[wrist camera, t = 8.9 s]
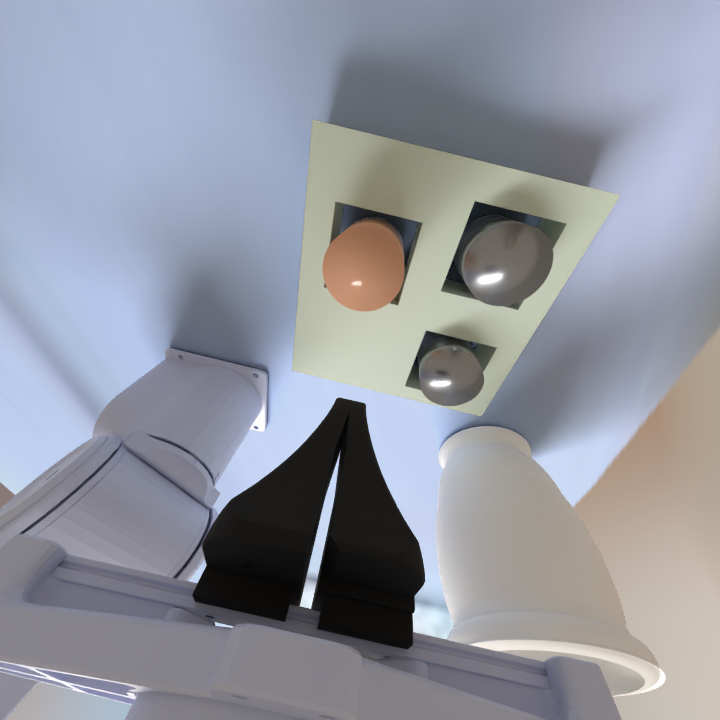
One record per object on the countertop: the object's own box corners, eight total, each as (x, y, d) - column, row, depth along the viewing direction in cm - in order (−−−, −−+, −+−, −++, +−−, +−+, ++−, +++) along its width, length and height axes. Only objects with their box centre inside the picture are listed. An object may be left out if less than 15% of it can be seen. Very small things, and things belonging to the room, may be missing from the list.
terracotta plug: (335, 276, 18) (317, 301, 15) (345, 209, 16) (328, 218, 12) (394, 291, 18) (392, 319, 15) (412, 226, 16) (415, 239, 12)
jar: (550, 412, 24) (710, 662, 12) (532, 485, 29) (629, 710, 17) (425, 417, 26) (446, 632, 14) (429, 484, 32) (447, 683, 19)
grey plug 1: (410, 362, 23) (412, 398, 19) (426, 319, 21) (432, 349, 17) (457, 374, 23) (468, 411, 19) (478, 332, 21) (495, 365, 17)
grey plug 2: (443, 273, 19) (453, 296, 15) (468, 207, 17) (487, 215, 13) (501, 287, 19) (525, 313, 15) (533, 223, 17) (571, 235, 13)
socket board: (303, 350, 24) (291, 370, 21) (326, 129, 16) (312, 119, 13) (473, 391, 24) (481, 416, 21) (585, 193, 16) (620, 195, 13)
